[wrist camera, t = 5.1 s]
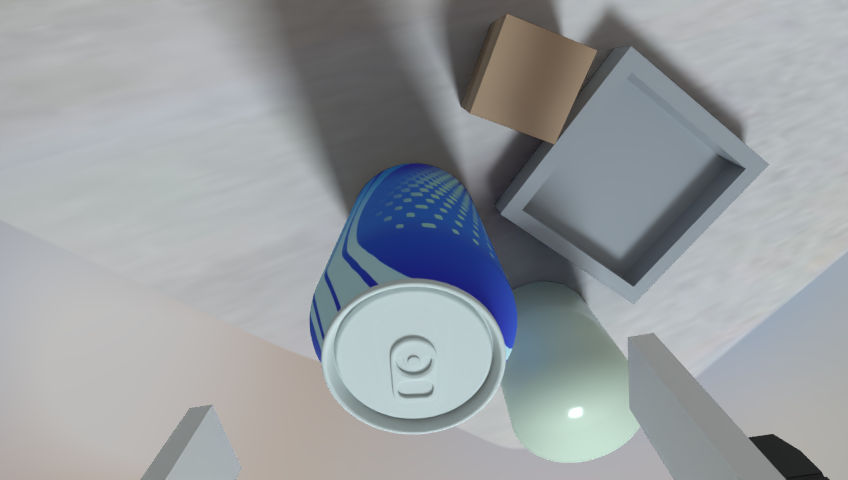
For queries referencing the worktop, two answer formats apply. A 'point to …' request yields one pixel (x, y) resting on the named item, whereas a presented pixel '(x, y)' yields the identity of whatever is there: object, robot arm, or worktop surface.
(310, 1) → the worktop surface
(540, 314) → the pale green cylinder
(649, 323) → the worktop surface
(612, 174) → the slate tray
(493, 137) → the worktop surface
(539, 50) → the walnut block
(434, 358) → the beer can
